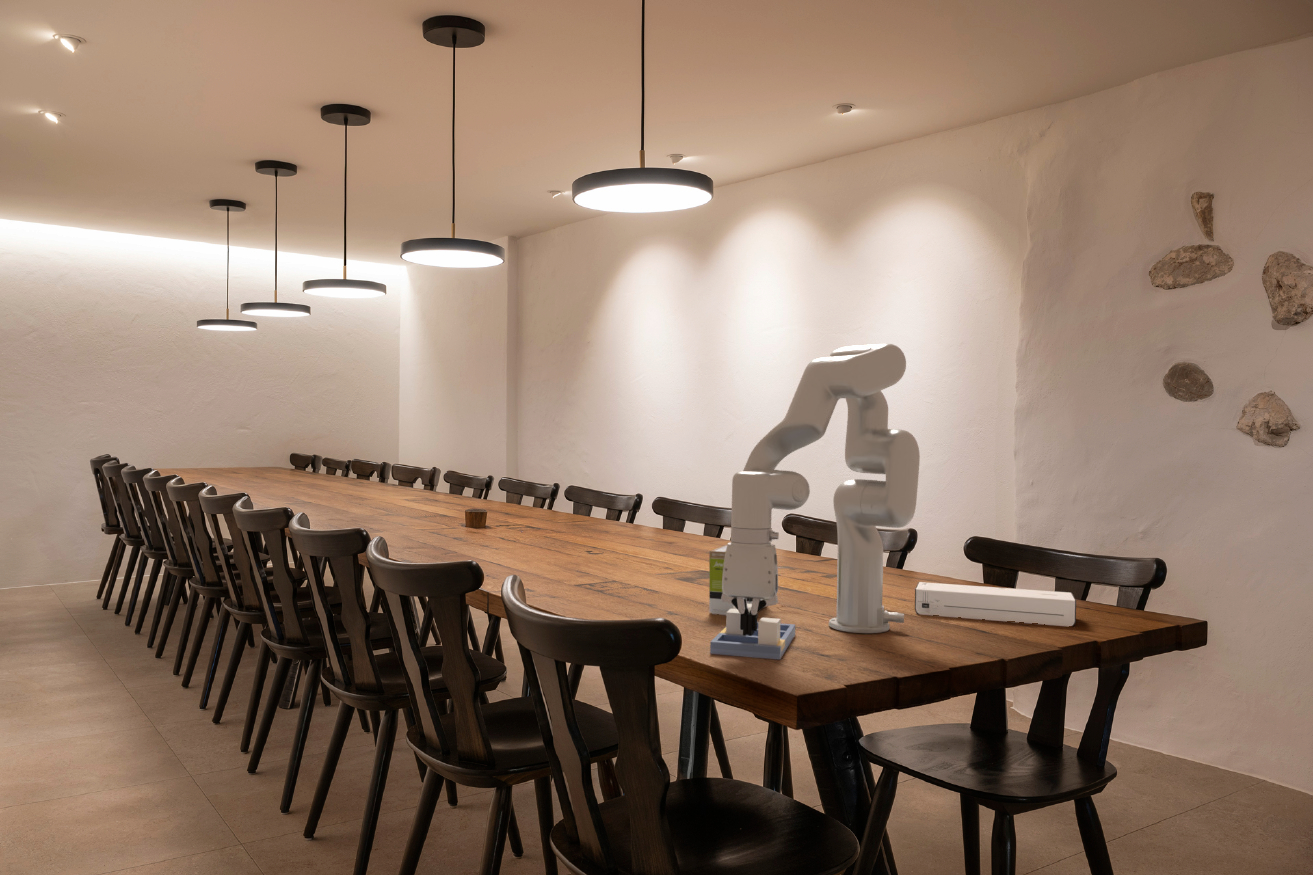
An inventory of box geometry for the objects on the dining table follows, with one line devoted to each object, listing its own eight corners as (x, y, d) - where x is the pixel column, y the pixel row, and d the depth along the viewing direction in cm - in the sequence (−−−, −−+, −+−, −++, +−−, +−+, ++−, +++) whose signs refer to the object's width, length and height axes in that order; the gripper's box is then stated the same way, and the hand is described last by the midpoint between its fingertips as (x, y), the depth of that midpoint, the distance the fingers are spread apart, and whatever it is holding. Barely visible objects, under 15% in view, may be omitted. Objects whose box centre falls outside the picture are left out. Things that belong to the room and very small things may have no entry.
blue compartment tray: (795, 635, 184) (795, 624, 184) (779, 659, 164) (780, 647, 164) (732, 630, 188) (732, 619, 188) (710, 653, 168) (710, 641, 168)
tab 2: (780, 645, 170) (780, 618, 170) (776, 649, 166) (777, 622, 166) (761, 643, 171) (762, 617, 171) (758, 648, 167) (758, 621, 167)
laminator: (1071, 619, 208) (1071, 592, 208) (1076, 629, 196) (1076, 601, 196) (918, 607, 219) (918, 581, 219) (914, 616, 208) (914, 589, 208)
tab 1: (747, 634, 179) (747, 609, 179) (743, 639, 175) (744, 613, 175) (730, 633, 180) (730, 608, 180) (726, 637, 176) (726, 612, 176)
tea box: (728, 602, 219) (729, 542, 219) (768, 606, 215) (769, 544, 215) (707, 614, 205) (708, 549, 205) (750, 618, 201) (751, 551, 201)
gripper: (793, 537, 171) (791, 633, 171) (717, 533, 176) (714, 627, 176) (787, 541, 164) (784, 642, 164) (707, 536, 169) (705, 634, 169)
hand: (748, 634), depth 170 cm, fingers closed
